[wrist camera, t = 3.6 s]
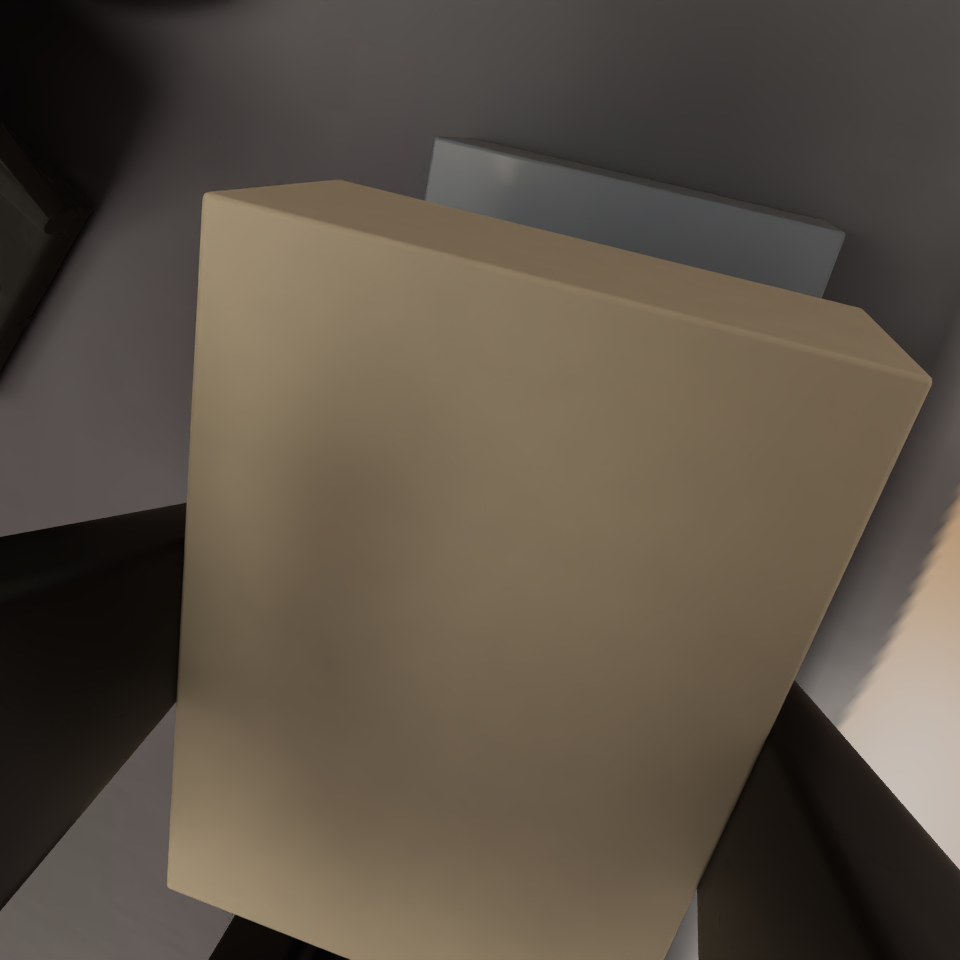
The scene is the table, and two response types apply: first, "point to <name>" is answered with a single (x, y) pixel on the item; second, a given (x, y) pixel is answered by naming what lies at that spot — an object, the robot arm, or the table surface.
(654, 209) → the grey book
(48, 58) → the table surface
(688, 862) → the cream rectangular block
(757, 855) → the robot arm
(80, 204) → the handheld gaming console
